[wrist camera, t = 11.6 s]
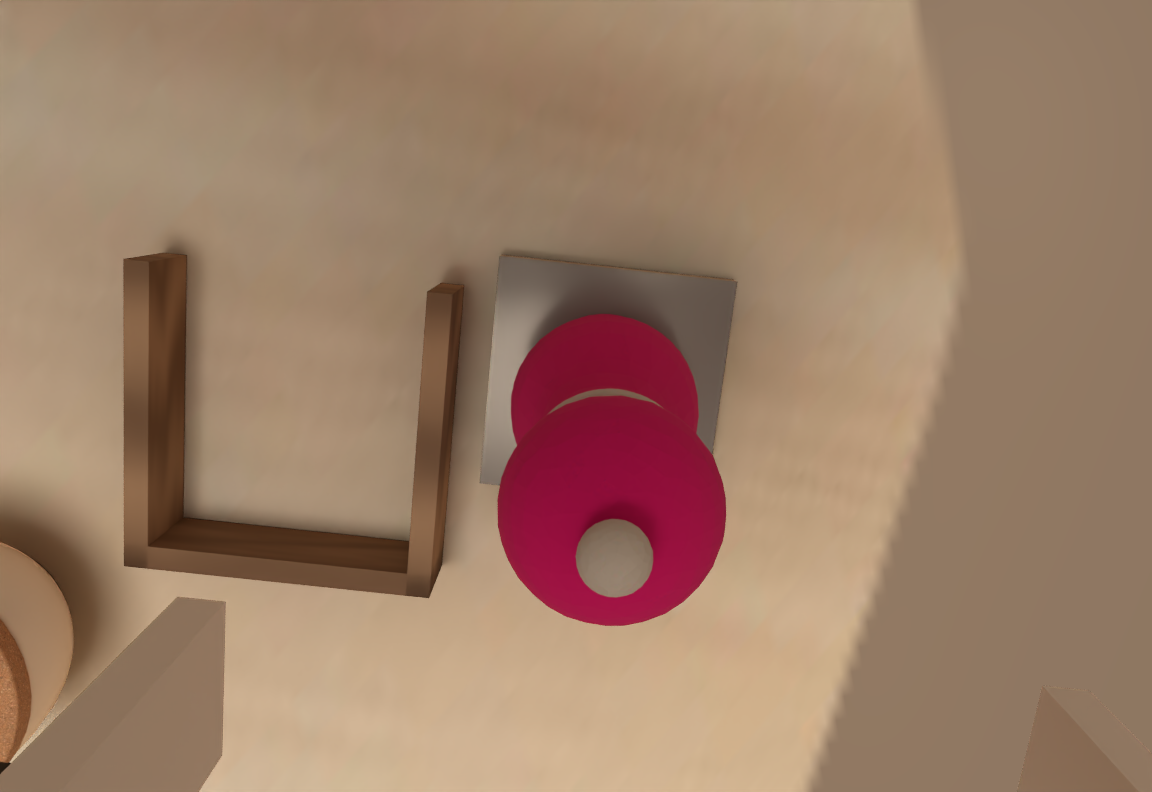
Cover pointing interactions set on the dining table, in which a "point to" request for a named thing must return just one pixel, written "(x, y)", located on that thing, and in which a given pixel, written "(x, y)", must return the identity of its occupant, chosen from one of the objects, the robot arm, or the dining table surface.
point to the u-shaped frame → (251, 549)
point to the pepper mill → (609, 474)
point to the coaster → (573, 290)
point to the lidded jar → (29, 647)
